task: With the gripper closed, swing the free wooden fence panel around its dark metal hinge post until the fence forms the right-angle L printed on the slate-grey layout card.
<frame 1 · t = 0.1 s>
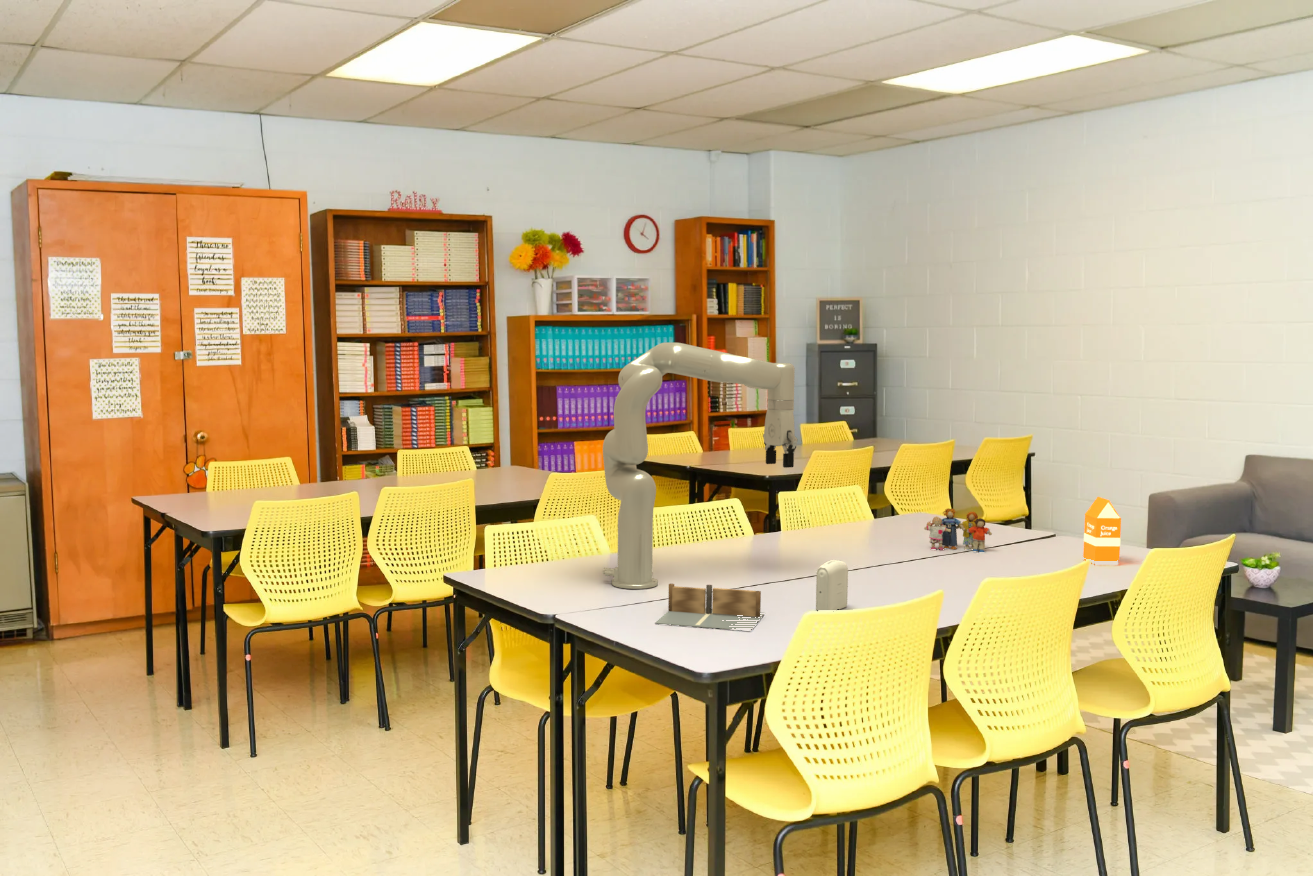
hand: (779, 465, 323), 31 cm above the table, tool pointing down, fingers open, 9 cm apart
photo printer: (831, 610, 281), on the table
orange juice: (1100, 563, 346), on the table
layout card: (711, 619, 270), on the table
fence fixed: (708, 614, 274), resting on layout card
doll family: (956, 549, 367), on the table
fence gate: (736, 602, 272), point 4 cm above the table, hinge at 0.0°
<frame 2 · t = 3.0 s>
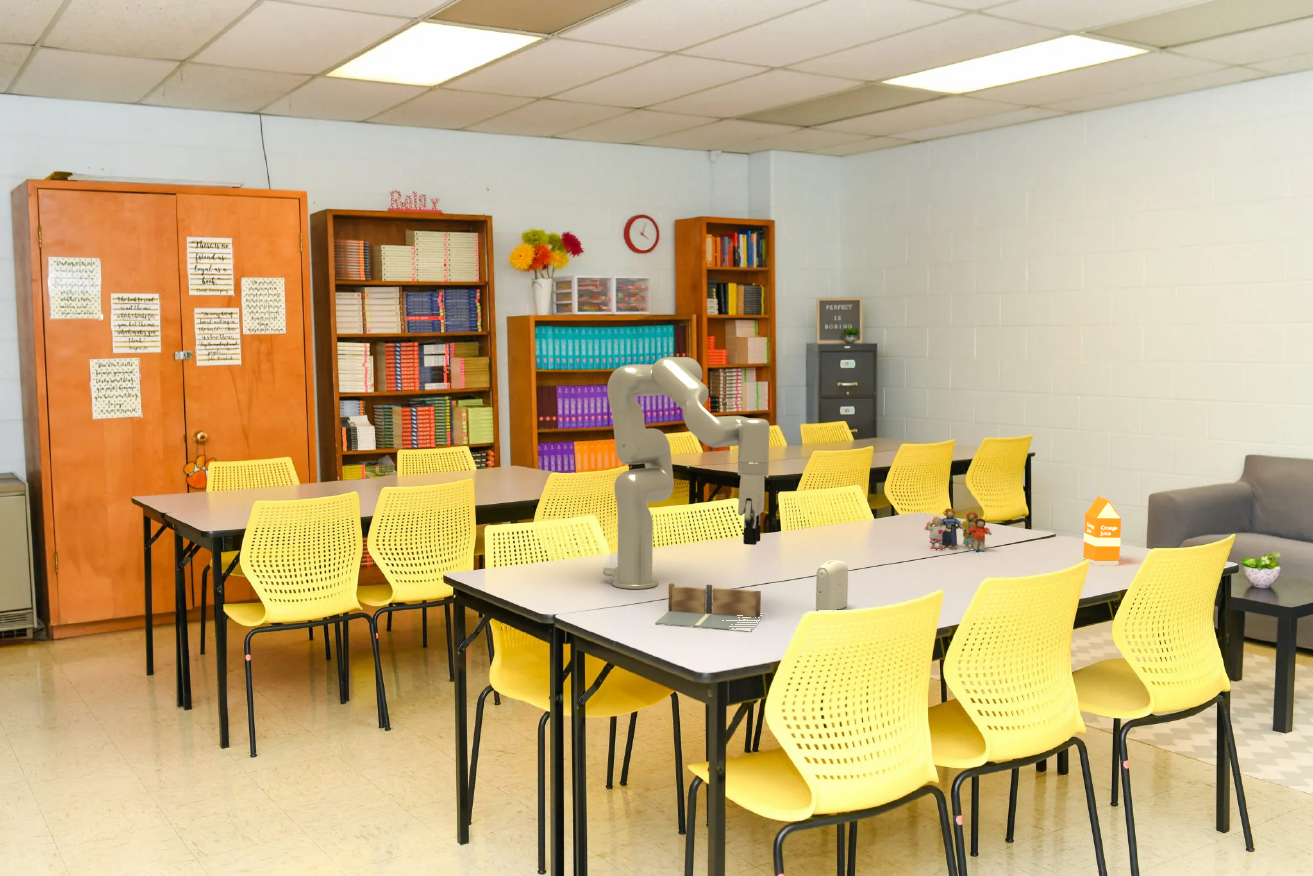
hand: (751, 541, 277), 17 cm above the table, tool pointing down, fingers open, 4 cm apart
nothing on the table moved.
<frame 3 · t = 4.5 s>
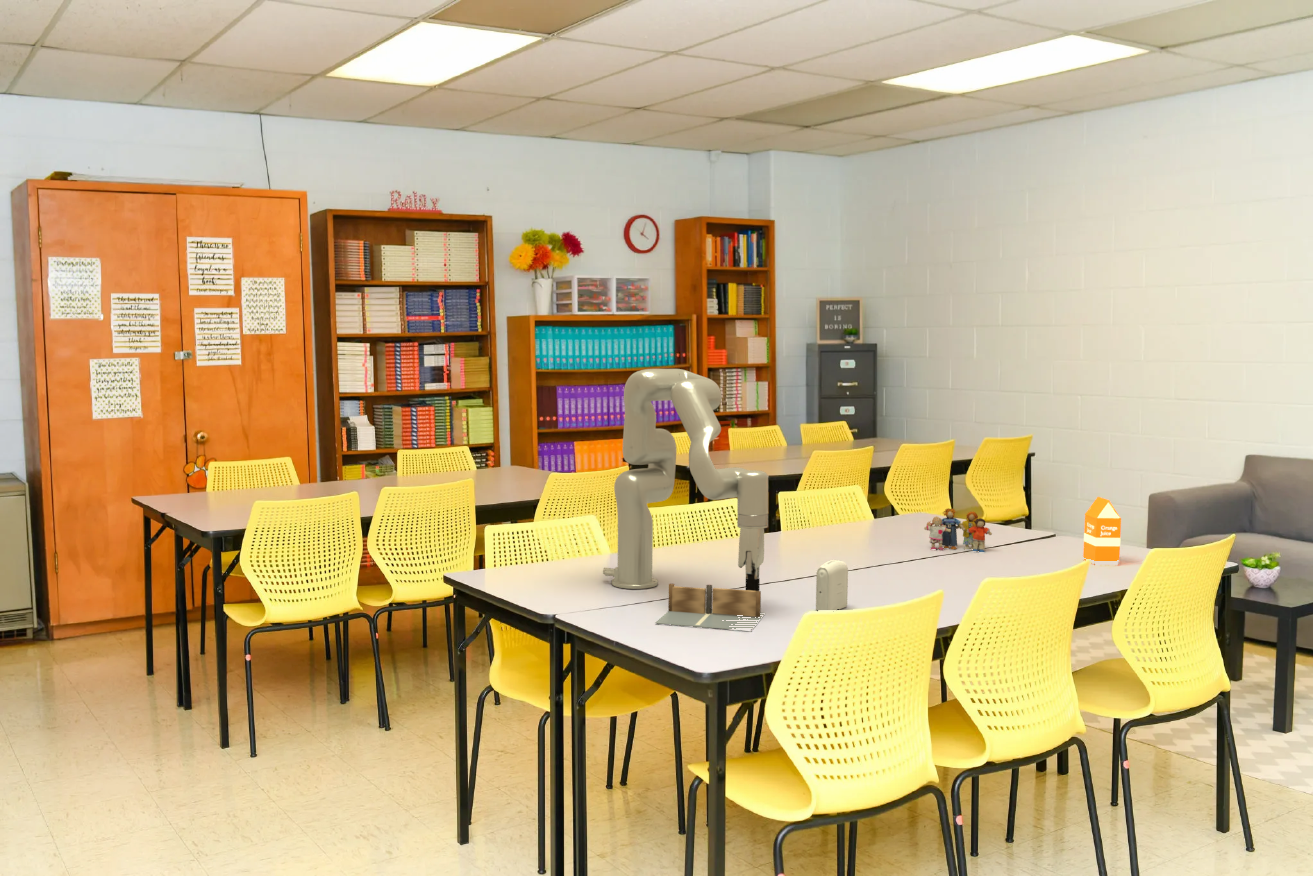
hand: (752, 594, 278), 4 cm above the table, tool pointing down, fingers closed
nothing on the table moved.
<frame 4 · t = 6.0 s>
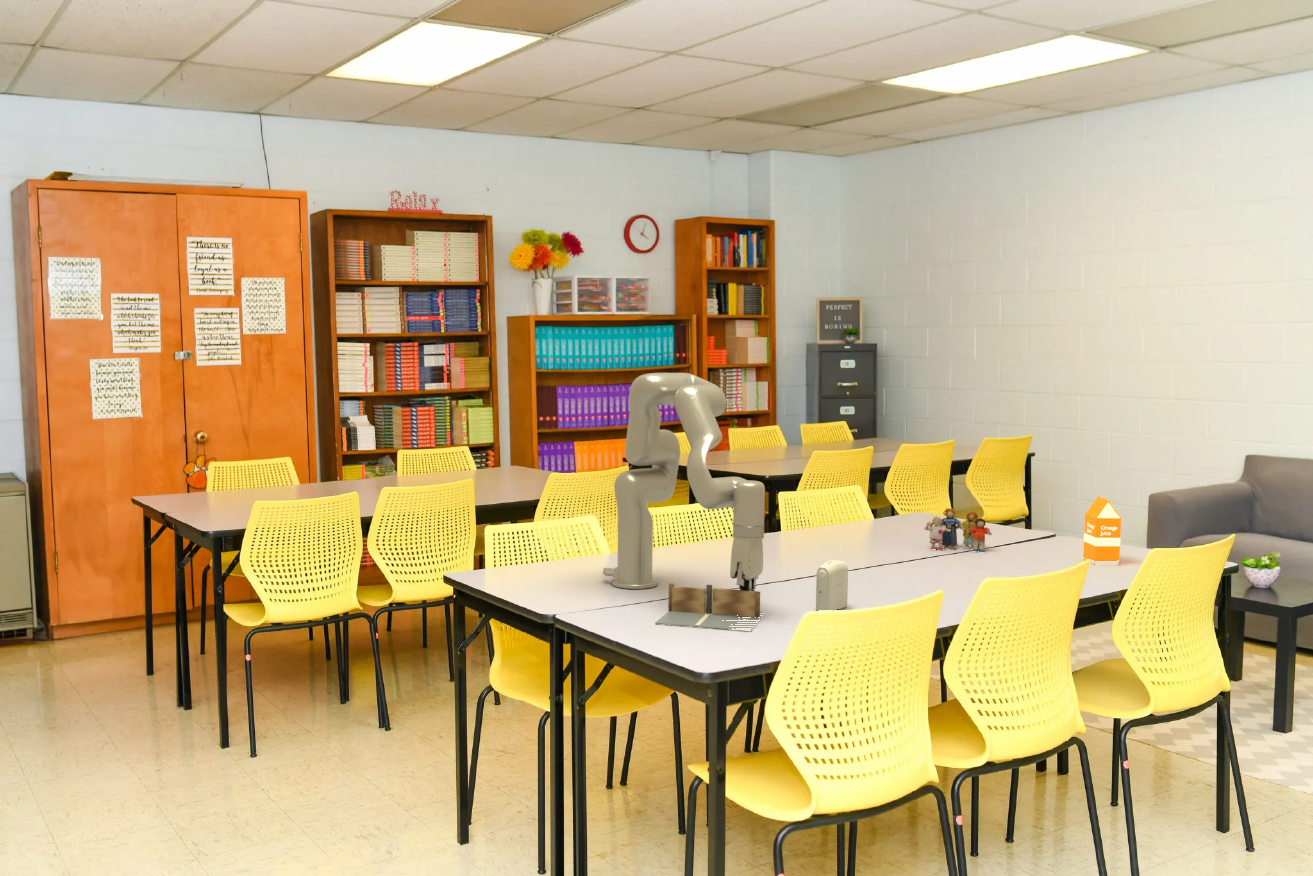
hand: (747, 605, 274), 2 cm above the table, tool pointing down, fingers closed
fence gate: (736, 602, 272), point 4 cm above the table, hinge at -3.1°, touching gripper
everything else where it was.
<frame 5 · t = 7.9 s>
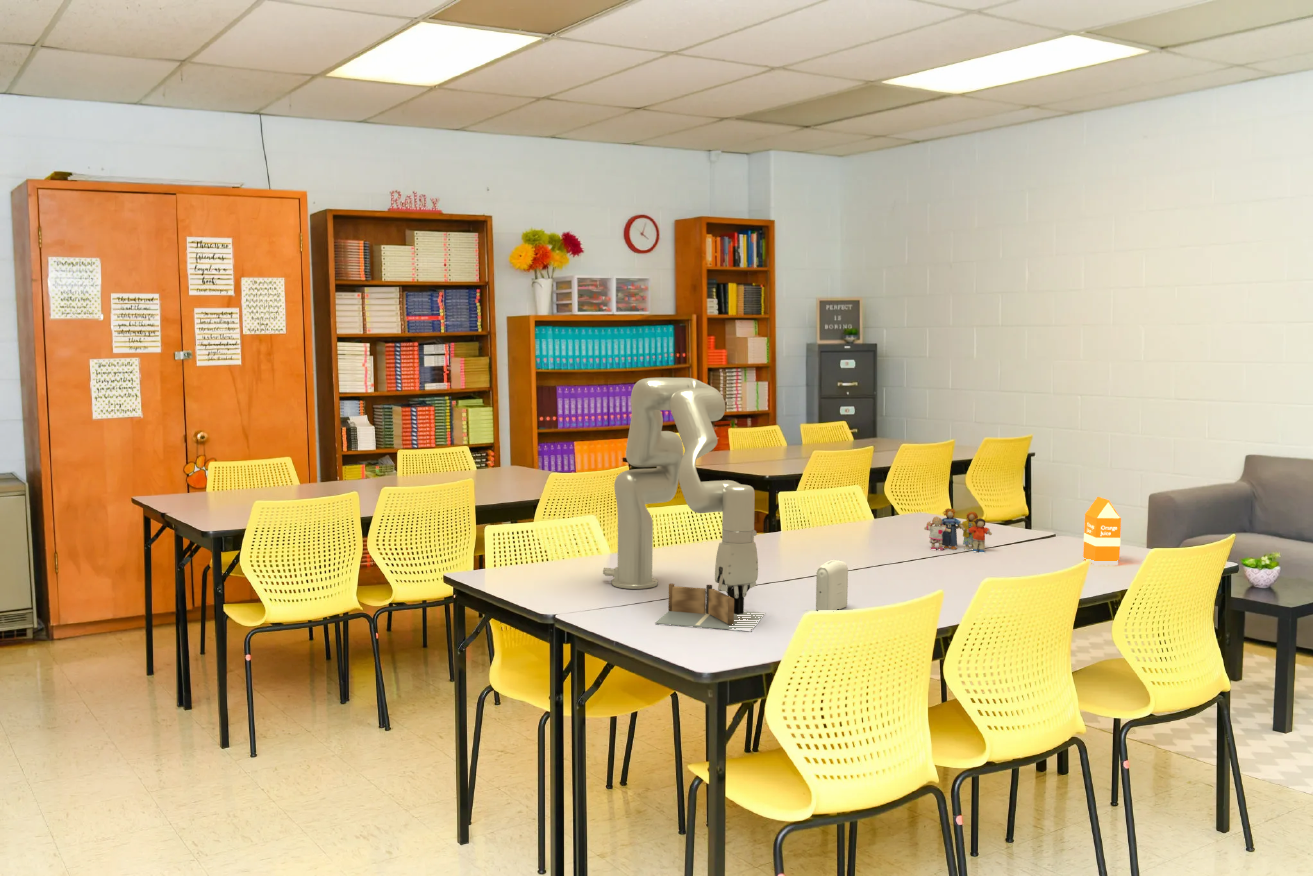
hand: (736, 613, 268), 2 cm above the table, tool pointing down, fingers closed
fence gate: (721, 606, 268), point 4 cm above the table, hinge at -51.9°, touching gripper
everything else where it was.
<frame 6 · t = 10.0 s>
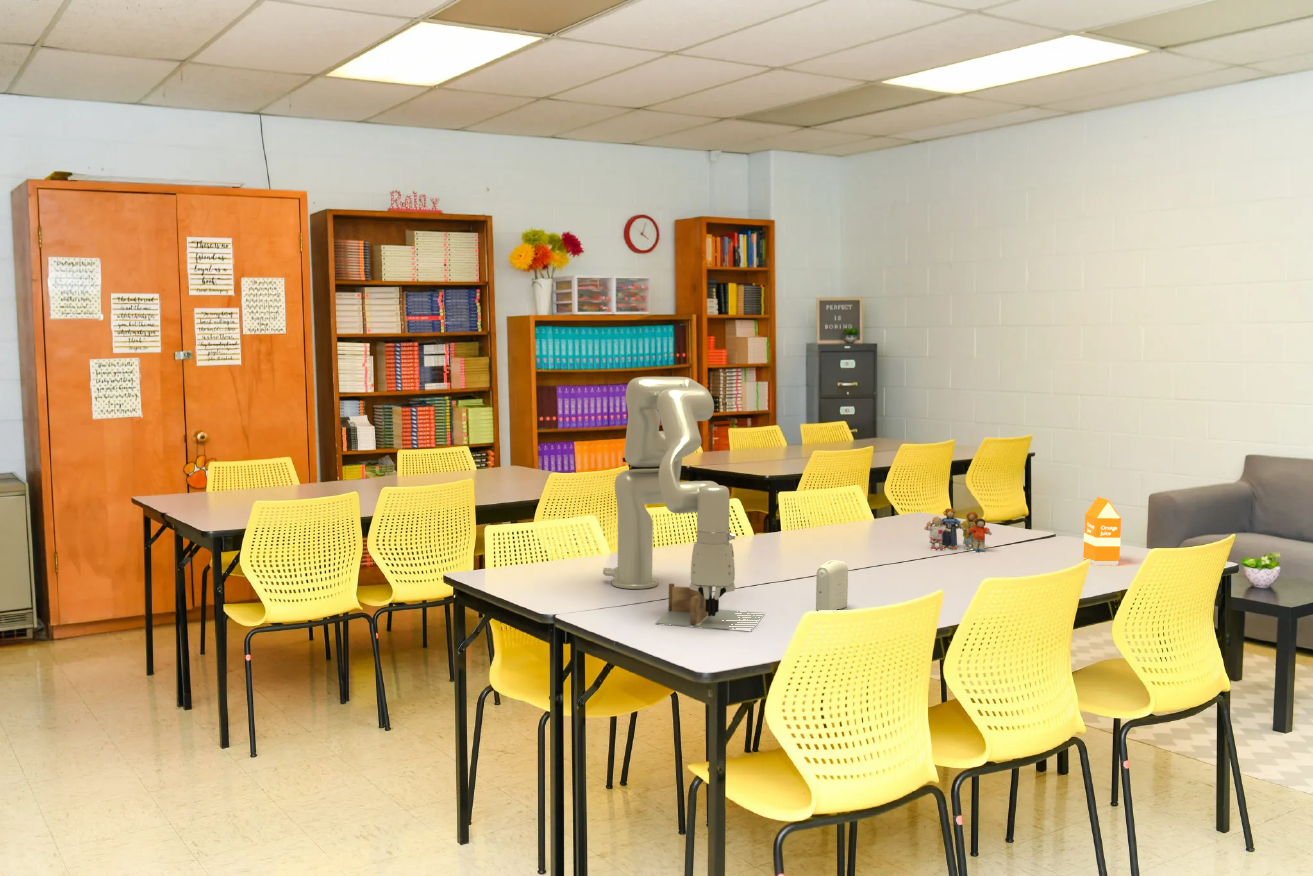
hand: (712, 614, 265), 2 cm above the table, tool pointing down, fingers closed
fence gate: (700, 606, 268), point 4 cm above the table, hinge at -94.6°, touching gripper
everything else where it was.
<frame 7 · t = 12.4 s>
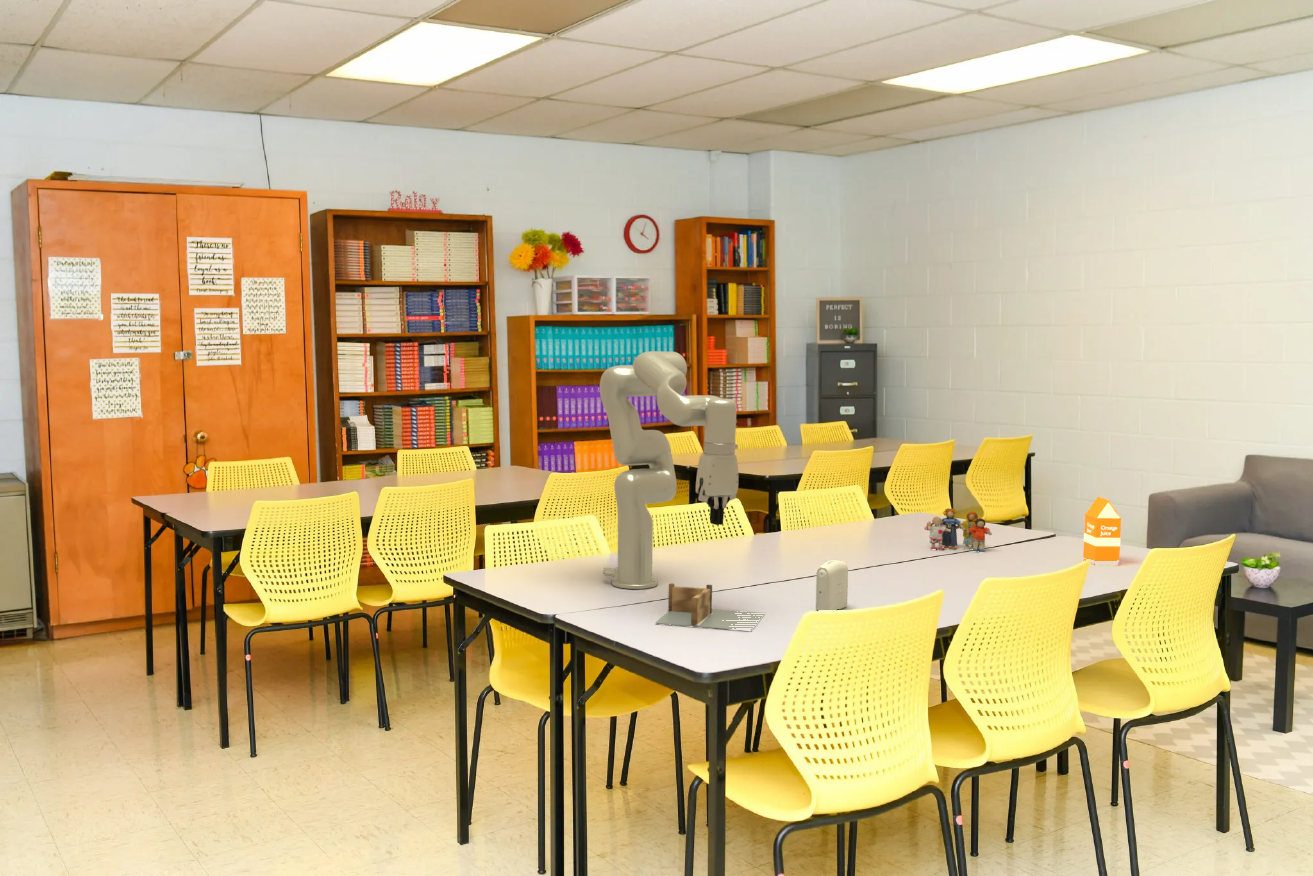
hand: (716, 523, 275), 22 cm above the table, tool pointing down, fingers closed
fence gate: (700, 606, 268), point 4 cm above the table, hinge at -93.7°
everything else where it was.
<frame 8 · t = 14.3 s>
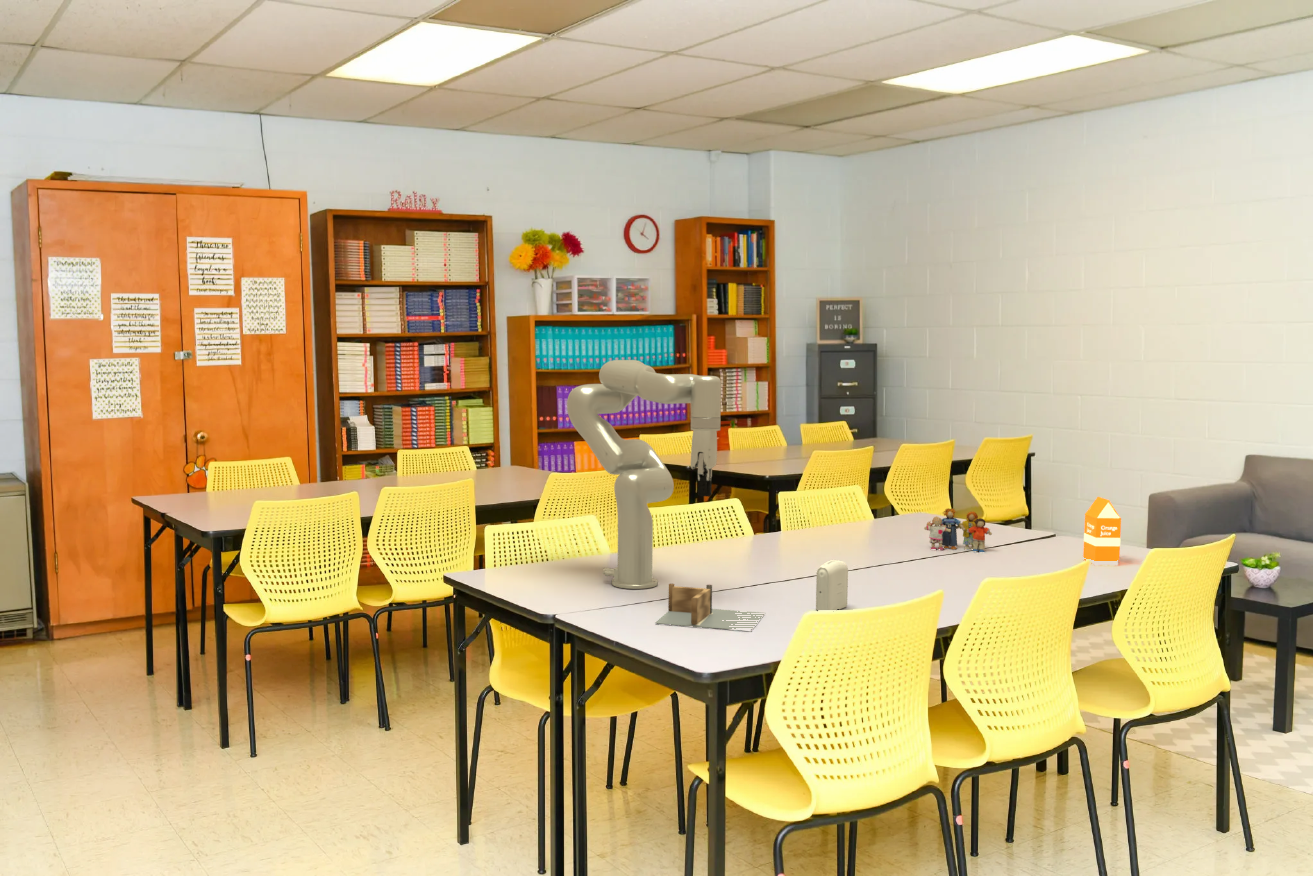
hand: (704, 495, 288), 27 cm above the table, tool pointing down, fingers closed
nothing on the table moved.
at the end: fence gate at -94° (first picture: +0°) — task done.
